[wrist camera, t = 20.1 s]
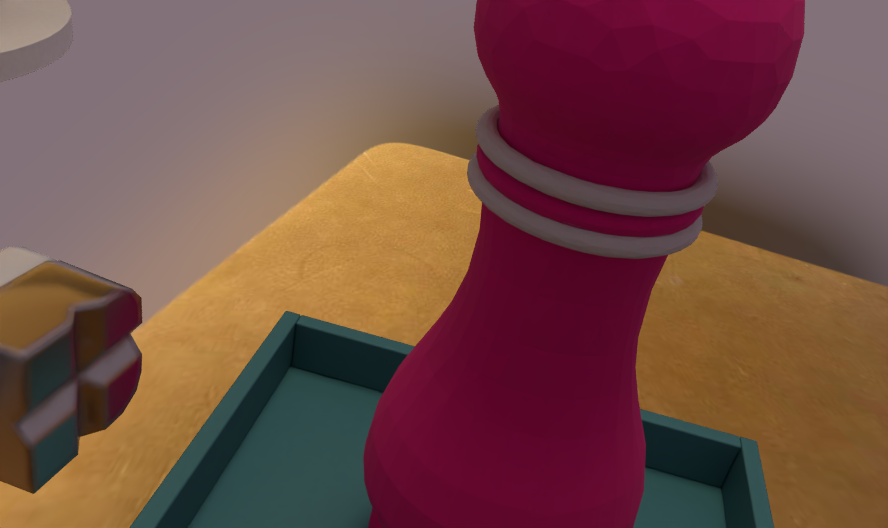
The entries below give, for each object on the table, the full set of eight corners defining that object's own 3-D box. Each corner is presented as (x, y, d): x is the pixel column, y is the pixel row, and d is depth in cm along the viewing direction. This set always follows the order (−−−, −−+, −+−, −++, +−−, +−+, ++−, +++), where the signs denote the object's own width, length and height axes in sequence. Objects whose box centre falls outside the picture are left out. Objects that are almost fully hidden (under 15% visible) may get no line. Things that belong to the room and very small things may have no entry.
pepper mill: (571, 493, 27) (821, -186, 17) (614, 708, 20) (1057, -170, 10) (355, 466, 26) (480, -262, 16) (331, 681, 20) (513, -292, 10)
